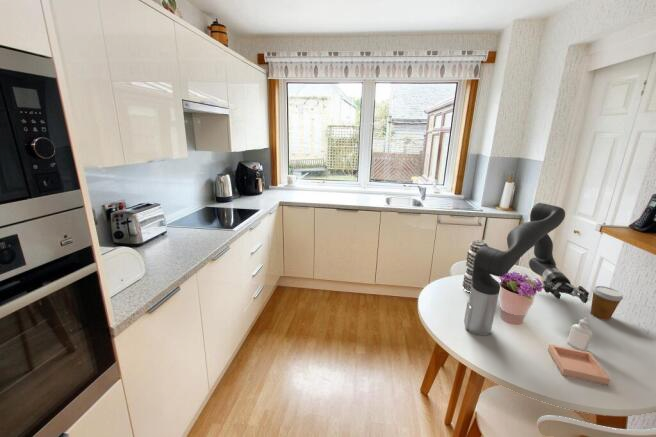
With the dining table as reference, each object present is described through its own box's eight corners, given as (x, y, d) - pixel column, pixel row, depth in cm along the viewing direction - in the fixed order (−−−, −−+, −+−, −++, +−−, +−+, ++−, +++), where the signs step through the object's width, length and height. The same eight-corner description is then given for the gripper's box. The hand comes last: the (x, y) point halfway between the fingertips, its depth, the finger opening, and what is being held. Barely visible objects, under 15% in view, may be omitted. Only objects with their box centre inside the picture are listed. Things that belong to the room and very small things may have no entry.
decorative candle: (481, 296, 138) (491, 247, 131) (459, 291, 142) (468, 242, 136) (482, 288, 145) (492, 241, 138) (462, 283, 150) (470, 237, 143)
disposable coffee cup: (620, 320, 123) (629, 295, 120) (605, 324, 120) (614, 298, 117) (594, 308, 132) (602, 284, 128) (580, 311, 129) (587, 286, 126)
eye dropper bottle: (577, 351, 104) (586, 322, 101) (564, 341, 109) (573, 313, 106) (589, 352, 104) (599, 322, 101) (576, 341, 109) (585, 313, 106)
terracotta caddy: (561, 375, 93) (563, 368, 93) (547, 350, 104) (549, 344, 104) (608, 385, 90) (610, 379, 89) (588, 358, 101) (590, 352, 100)
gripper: (538, 269, 129) (553, 287, 114) (577, 274, 125) (597, 293, 110) (534, 284, 131) (548, 303, 116) (572, 290, 127) (592, 310, 112)
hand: (572, 298), depth 113 cm, fingers open, 8 cm apart
